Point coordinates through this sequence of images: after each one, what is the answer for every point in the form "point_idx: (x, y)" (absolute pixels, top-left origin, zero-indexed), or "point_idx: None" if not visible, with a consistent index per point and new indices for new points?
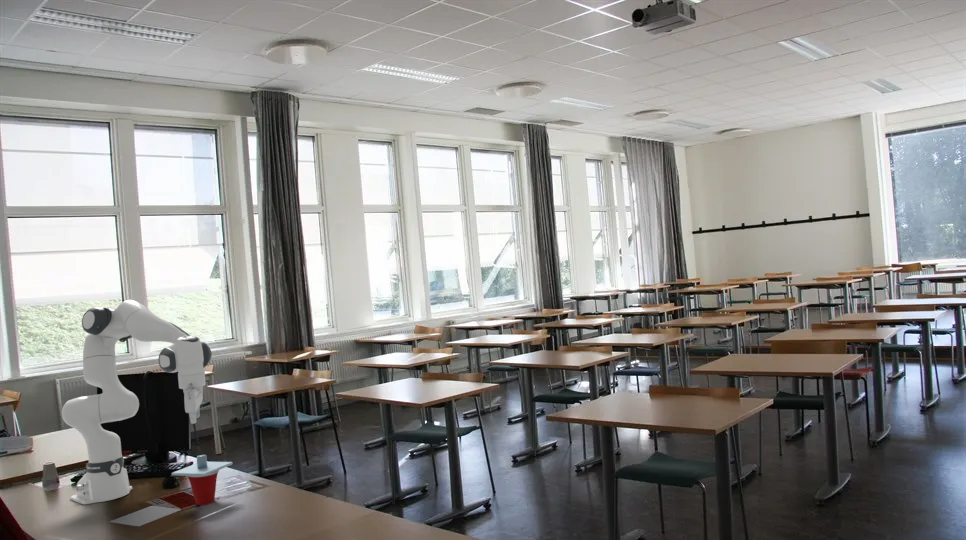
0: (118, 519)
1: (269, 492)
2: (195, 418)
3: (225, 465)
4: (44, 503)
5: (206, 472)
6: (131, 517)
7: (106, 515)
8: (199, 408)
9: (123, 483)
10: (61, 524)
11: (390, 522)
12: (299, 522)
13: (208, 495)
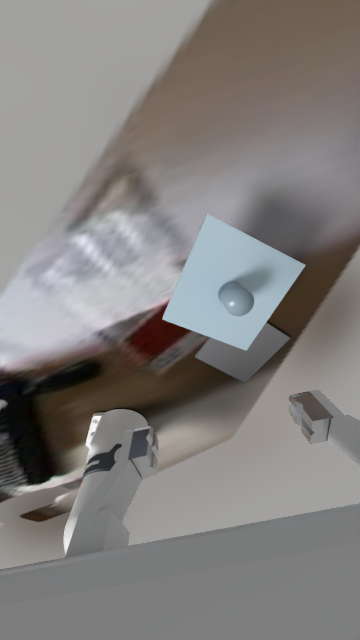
0: (241, 375)
1: (182, 137)
2: (341, 414)
3: (234, 228)
4: None
5: (295, 261)
6: (241, 363)
7: (206, 396)
8: (105, 495)
9: (118, 425)
10: (220, 425)
11: None
12: None
13: None
